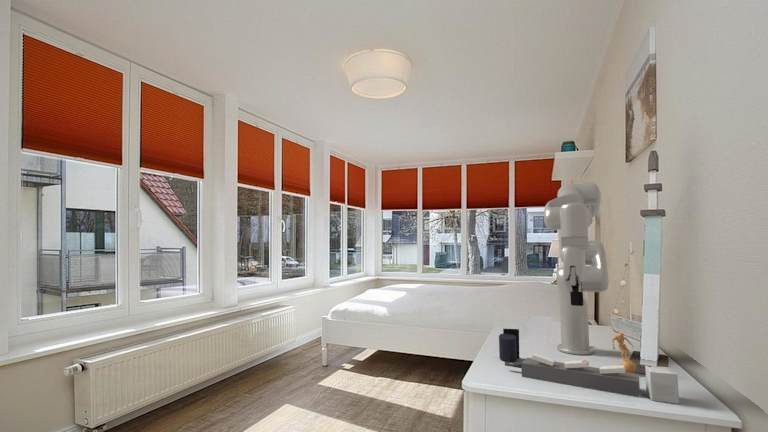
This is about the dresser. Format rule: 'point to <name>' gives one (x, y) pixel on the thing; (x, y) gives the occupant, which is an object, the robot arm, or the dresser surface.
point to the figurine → (627, 363)
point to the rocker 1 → (543, 359)
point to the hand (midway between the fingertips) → (577, 305)
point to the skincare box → (662, 384)
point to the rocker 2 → (576, 364)
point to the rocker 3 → (612, 369)
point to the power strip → (580, 377)
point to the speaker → (509, 345)
